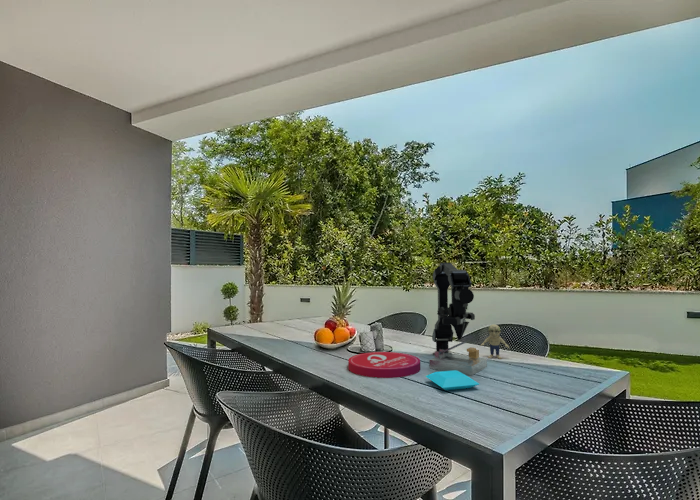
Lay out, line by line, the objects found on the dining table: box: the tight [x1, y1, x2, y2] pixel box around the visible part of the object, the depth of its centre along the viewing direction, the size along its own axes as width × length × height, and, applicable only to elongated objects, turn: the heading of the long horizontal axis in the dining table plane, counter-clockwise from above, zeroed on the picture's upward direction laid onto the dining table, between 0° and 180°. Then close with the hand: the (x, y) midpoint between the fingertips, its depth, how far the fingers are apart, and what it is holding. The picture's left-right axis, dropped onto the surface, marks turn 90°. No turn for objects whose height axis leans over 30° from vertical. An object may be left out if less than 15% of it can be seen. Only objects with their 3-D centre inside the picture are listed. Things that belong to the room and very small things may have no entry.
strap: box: [440, 340, 467, 355], centre depth 168 cm, size 3×13×1 cm, turn 51°
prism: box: [425, 370, 480, 391], centre depth 145 cm, size 14×14×5 cm
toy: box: [480, 323, 510, 360], centre depth 186 cm, size 13×6×15 cm, turn 68°
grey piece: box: [429, 349, 488, 376], centre depth 169 cm, size 16×18×7 cm
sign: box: [347, 351, 421, 379], centre depth 170 cm, size 30×4×30 cm
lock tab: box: [466, 347, 480, 359], centre depth 169 cm, size 6×3×4 cm, turn 141°
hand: (459, 339), depth 166 cm, fingers closed
